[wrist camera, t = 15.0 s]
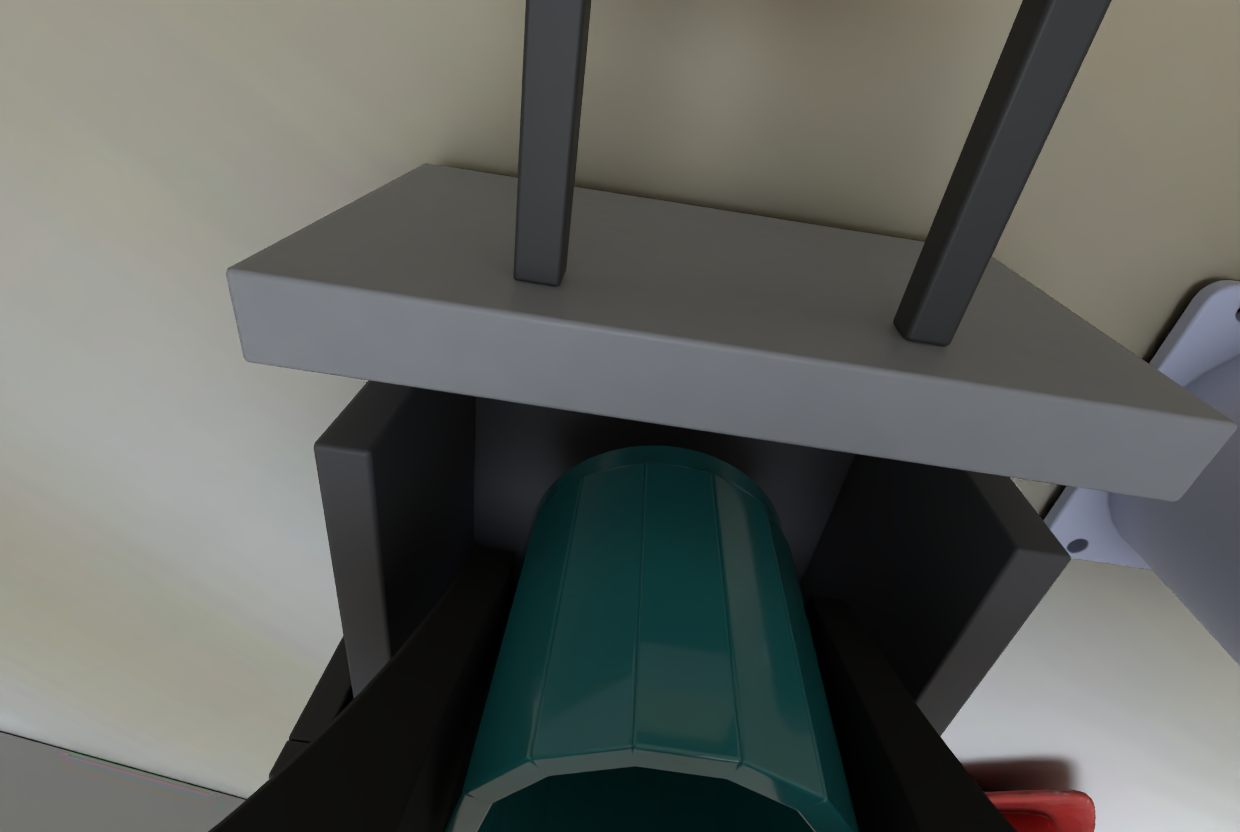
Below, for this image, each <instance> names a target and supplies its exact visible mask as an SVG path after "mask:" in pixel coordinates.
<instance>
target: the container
mask: <svg viewBox="0 0 1240 832" xmlns="http://www.w3.org/2000/svg"><path fill="white" fill-rule="evenodd" d="M443 832H859V830H858V826H857V821H856V817H855V813H854V809H853V805H852V801H851V797H850V792H849V788H848V784H847V780H846V776H845V772H844V768H843V764H842V759H841V755H840V751H839V747H838V743H837V739H836V735H835V731H834V726H833V722H832V718H831V714H830V710H829V706H828V702H827V698H826V693H825V689H824V685H823V681H822V677H821V673H820V669H819V665H818V660H817V656H816V652H815V648H814V644H813V640H812V636H811V632H810V627H809V623H808V619H807V615H806V611H805V607H804V603H803V599H802V594H801V590H800V586H799V582H798V578H797V574H796V570H795V565H794V561H793V557H792V553H791V549H790V545H789V544H788V542H787V540H786V539H785V537H784V533H783V529H782V525H781V521H780V518H779V516H778V513H777V511H776V509H775V507H774V505H773V504H772V502H771V501H770V499H769V498H768V496H767V495H766V493H765V492H764V491H763V490H762V489H761V488H760V487H759V486H758V485H757V484H756V483H755V482H754V481H753V480H752V479H751V478H749V477H748V476H747V475H746V474H745V473H743V472H742V471H740V470H739V469H737V468H735V467H734V466H732V465H731V464H729V463H727V462H725V461H722V460H720V459H718V458H716V457H714V456H711V455H708V454H705V453H702V452H699V451H695V450H690V449H686V448H681V447H673V446H663V445H642V446H634V447H625V448H620V449H616V450H612V451H608V452H605V453H602V454H599V455H596V456H594V457H591V458H589V459H587V460H585V461H583V462H581V463H579V464H577V465H575V466H574V467H573V468H571V469H570V470H568V471H567V472H565V473H564V474H563V475H561V476H560V477H559V478H558V479H557V480H556V481H555V482H554V483H553V484H552V485H551V486H550V487H549V488H548V490H547V491H546V492H545V493H544V495H543V496H542V498H541V500H540V501H539V503H538V505H537V507H536V509H535V512H534V515H533V518H532V521H531V525H530V528H529V532H528V536H527V538H526V541H525V543H524V545H523V548H522V550H521V554H520V557H519V561H518V565H517V568H516V572H515V575H514V582H513V586H512V590H511V593H510V597H509V600H508V604H507V608H506V611H505V615H504V618H503V622H502V626H501V629H500V632H499V636H498V639H497V642H496V645H495V649H494V652H493V655H492V658H491V661H490V665H489V668H488V672H487V675H486V679H485V682H484V686H483V690H482V693H481V697H480V700H479V704H478V707H477V711H476V715H475V718H474V722H473V725H472V729H471V732H470V736H469V740H468V743H467V747H466V750H465V754H464V757H463V761H462V764H461V768H460V772H459V775H458V779H457V782H456V786H455V789H454V793H453V797H452V800H451V804H450V807H449V811H448V814H447V818H446V822H445V825H444V829H443Z"/></svg>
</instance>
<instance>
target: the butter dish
mask: <svg viewBox="0 0 1240 832" xmlns="http://www.w3.org/2000/svg"><path fill="white" fill-rule="evenodd" d="M984 793H985V794H986V796H987V797H988V798H989V799H990V800H991V802H992V803H993V804H994V805H995V806H996V808H997V809H998V810H999V811H1000V812H1001V814H1002V815H1003V816H1004V817H1005V818H1006V819H1007V821H1008V822H1009V823H1010V824H1011V825H1012V826H1013V827H1014V829H1015V830H1016V831H1017V832H1094V829H1095V818H1096V817H1095V807H1094V803H1093V801H1092V799H1091V798H1090V797H1089V796H1088V795H1087V794H1085V793H1083V792H1080V791H1076V790H1068V789H1035V790H1018V791H996V792H984Z"/></svg>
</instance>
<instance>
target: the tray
mask: <svg viewBox="0 0 1240 832" xmlns="http://www.w3.org/2000/svg"><path fill="white" fill-rule="evenodd" d="M244 801H245V800H244V799H240V798H237V797H233V796H229V795H226V794H222V793H218V792H215V791H211V790H208V789H204V788H200V787H197V786H193V785H190V784H186V783H182V782H179V781H175V780H171V779H168V778H164V777H161V776H157V775H153V774H150V773H146V772H143V771H139V770H135V769H132V768H128V767H124V766H121V765H117V764H114V763H110V762H106V761H103V760H99V759H96V758H92V757H88V756H85V755H81V754H77V753H74V752H70V751H67V750H63V749H59V748H56V747H52V746H49V745H45V744H41V743H38V742H34V741H30V740H27V739H23V738H20V737H16V736H12V735H9V734H5V733H2V732H0V832H208V831H209V830H211V829H212V828H213V827H214V826H216V825H217V824H218V823H219V822H221V821H222V820H223V819H224V818H225V817H227V816H228V815H229V814H230V813H231V812H233V811H234V810H235V809H236V808H237V807H238V806H240V805H241V804H242V803H243V802H244Z"/></svg>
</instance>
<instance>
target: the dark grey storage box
mask: <svg viewBox="0 0 1240 832" xmlns="http://www.w3.org/2000/svg"><path fill="white" fill-rule="evenodd" d="M353 699H354V697H353V691H352V685H351V678H350V672H349V666H348V659H347V653H346V647H345V641H344V636H343V638H342V639H341V641H340V643H339V645H338V647H337V649H336V651H335V652H334V654H333V656H332V658H331V660H330V662H329V664H328V666H327V667H326V669H325V671H324V673H323V675H322V677H321V679H320V680H319V682H318V684H317V686H316V688H315V690H314V692H313V693H312V695H311V697H310V699H309V701H308V703H307V705H306V706H305V708H304V710H303V712H302V714H301V716H300V718H299V719H298V721H297V723H296V725H295V727H294V729H293V731H292V732H291V734H290V736H289V741H287V742H286V744H285V746H284V748H283V749H282V751H281V753H280V755H279V757H278V759H277V761H276V763H275V764H274V766H273V768H272V770H271V772H270V774H269V779H270V778H271V777H273V776H274V775H275V774H276V773H277V772H278V771H279V770H280V769H282V768H283V767H284V766H285V765H286V764H287V763H288V762H289V761H290V760H292V759H293V758H294V757H295V756H296V755H297V754H298V753H299V752H300V751H301V750H302V749H304V748H305V747H306V746H307V745H308V744H309V743H310V742H311V741H312V740H313V739H314V738H315V737H316V736H317V735H318V734H319V733H320V732H321V731H322V730H323V729H324V728H325V727H327V726H328V725H329V724H330V723H331V722H332V721H333V720H334V719H335V718H336V717H337V716H338V715H339V714H340V713H341V712H342V711H343V710H344V708H345V707H346V706H347V705H348V704H349V703H350V702H351V701H352V700H353Z"/></svg>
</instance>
